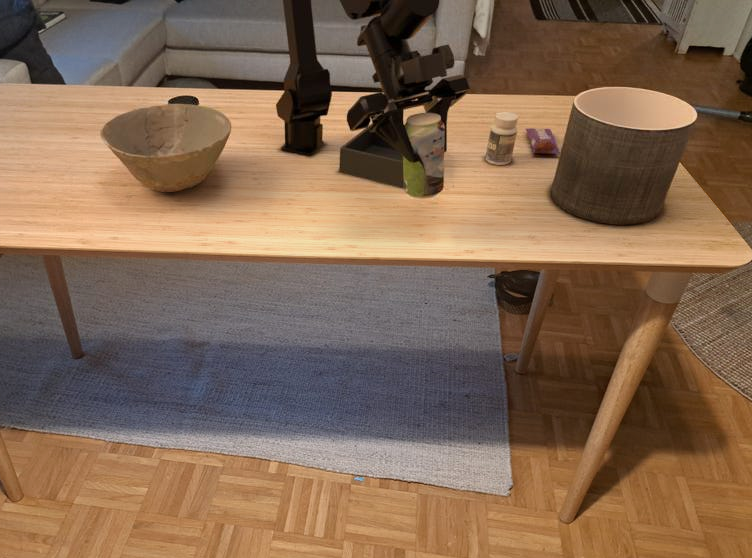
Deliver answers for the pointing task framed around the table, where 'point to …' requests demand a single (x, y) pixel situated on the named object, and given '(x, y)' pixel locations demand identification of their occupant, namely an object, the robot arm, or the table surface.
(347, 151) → the square storage tray
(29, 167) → the table surface
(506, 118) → the pill bottle
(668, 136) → the planter
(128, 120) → the ceramic bowl
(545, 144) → the snack package
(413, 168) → the beverage can
